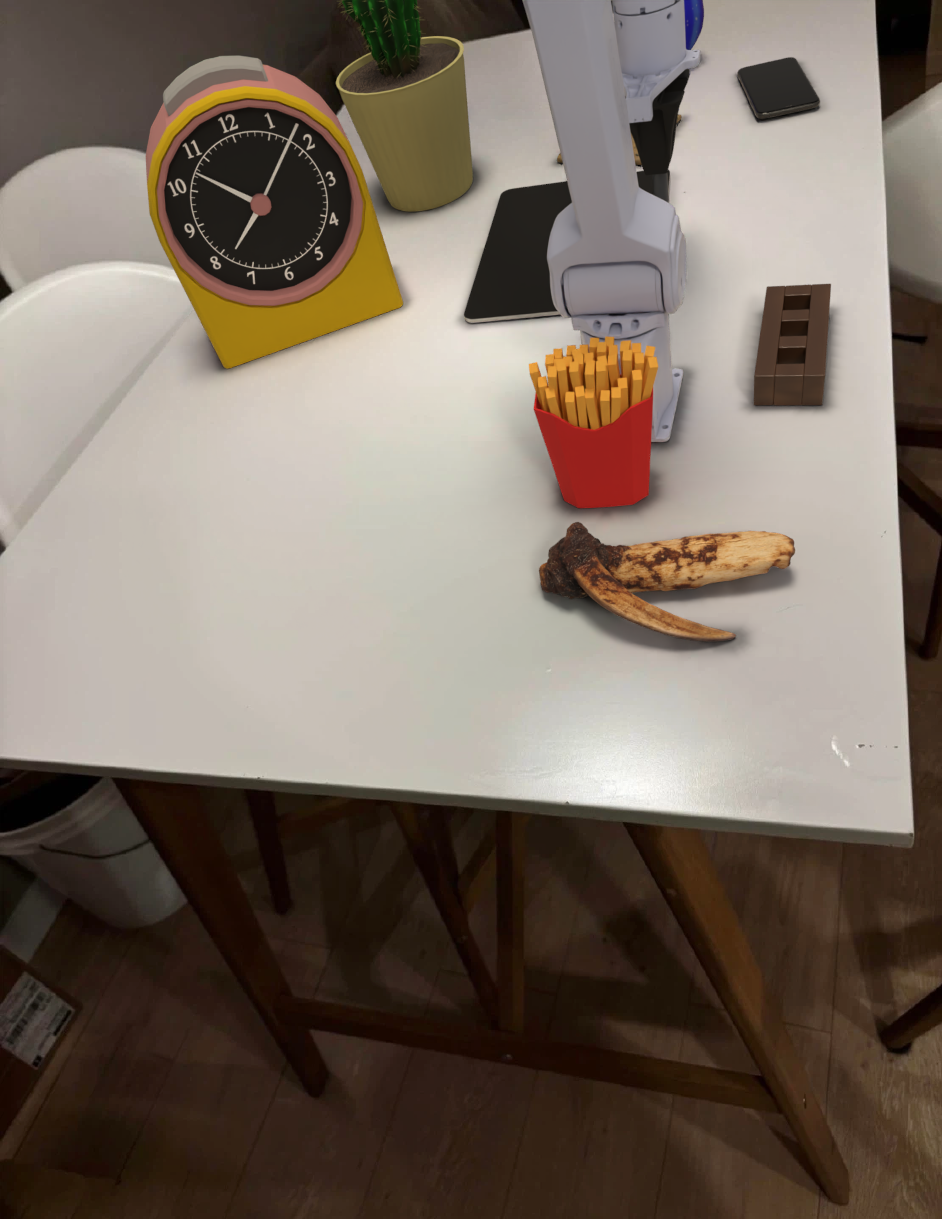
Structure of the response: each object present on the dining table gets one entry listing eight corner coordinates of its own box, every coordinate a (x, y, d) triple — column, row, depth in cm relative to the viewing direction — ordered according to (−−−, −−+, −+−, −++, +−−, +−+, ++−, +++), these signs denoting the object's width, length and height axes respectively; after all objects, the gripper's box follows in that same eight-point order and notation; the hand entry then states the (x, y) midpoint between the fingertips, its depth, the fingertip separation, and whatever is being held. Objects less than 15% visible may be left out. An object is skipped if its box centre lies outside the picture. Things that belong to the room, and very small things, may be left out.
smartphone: (735, 75, 116) (756, 122, 106) (735, 68, 115) (757, 114, 105) (795, 61, 114) (822, 108, 105) (795, 54, 114) (822, 100, 104)
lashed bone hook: (539, 659, 63) (806, 641, 59) (526, 621, 60) (810, 598, 55) (544, 559, 69) (788, 535, 65) (532, 518, 65) (790, 490, 61)
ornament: (714, 55, 121) (712, -77, 110) (675, 85, 118) (669, -48, 107) (646, 51, 127) (638, -75, 116) (608, 79, 124) (595, -48, 113)
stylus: (669, 230, 87) (663, 135, 80) (654, 231, 87) (648, 137, 80) (671, 223, 87) (666, 128, 81) (656, 224, 88) (650, 130, 81)
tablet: (502, 189, 108) (670, 166, 102) (503, 194, 109) (670, 172, 103) (462, 319, 92) (659, 301, 86) (463, 325, 92) (659, 307, 87)
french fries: (551, 511, 72) (523, 379, 62) (555, 475, 75) (529, 343, 65) (667, 503, 70) (657, 365, 60) (667, 466, 72) (657, 328, 63)
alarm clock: (223, 370, 97) (95, 119, 77) (217, 329, 103) (97, 87, 84) (404, 305, 97) (322, 39, 78) (388, 268, 103) (307, 13, 84)
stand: (828, 313, 80) (831, 283, 78) (822, 405, 73) (825, 375, 71) (765, 315, 82) (766, 286, 80) (753, 405, 75) (754, 376, 73)
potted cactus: (509, 159, 115) (456, -132, 92) (455, 222, 107) (382, -79, 85) (409, 159, 122) (337, -112, 99) (351, 218, 114) (259, -61, 92)
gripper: (685, 30, 67) (691, 204, 77) (709, -40, 75) (711, 126, 86) (594, 43, 70) (611, 210, 80) (626, -26, 78) (638, 133, 88)
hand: (658, 167), depth 83 cm, fingers closed on stylus, 1 cm apart
